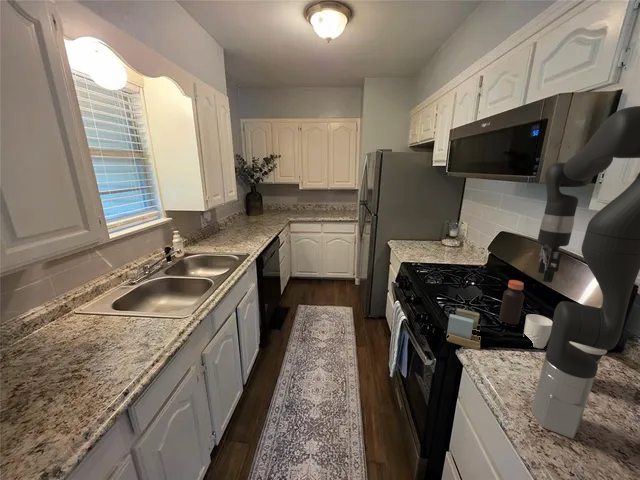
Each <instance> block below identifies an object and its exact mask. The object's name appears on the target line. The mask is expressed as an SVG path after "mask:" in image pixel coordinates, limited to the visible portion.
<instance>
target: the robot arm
mask: <svg viewBox="0 0 640 480" xmlns="http://www.w3.org/2000/svg"><path fill="white" fill-rule="evenodd" d="M615 158H616V159H640V105H639V106H638V105H635V106H629V107H628V106H627V107H624V108H622V109H619V110H617V111H615V112H613V113H612V114H611V115H610V116H609V117H608V118H606V119H605V120H604V122H603V123H602V124H601V125H600V126H599V128H598V129H597V130H596V132H595V133H594V134H593V135H592V136H591V138H590V139H589V140H588V142H586V144H585V146H584V147H583V148H582V149H581V150H580V151H579V152H577V153H576V154H574V155H573V156H572V157H570V158H569V159H568V160H567V161H566V162H555V163H552V164H550V166H549V167H547V169H546V171H545V174H544V181H545V186H546V187H545V188H546V203H545V209H544V213H543V216H542V218H541V221H540V222H541V223H540V227H539V231H538V235H537V242H538V243H539V244H541V247H540V251H539V255H538V258H539V260H538V261H539V264H538V265H539V266H538V269H537V272H538V273H539V274H543V276H542V277H543V278H542V281H543V282H546V283H552V282H553V281H554V275H555V273H556V272H558V271H559V267H560V262H561V258H562V255H563V254H562V252H561V251H560V250H559V249H560V247H567V246H569V245H570V240H571V238H572V237H571V236H572V232H573V228H574V224H575V215H576V211H577V207H578V204H579V198H578V197H577V196H574V195H572V194H565V193H562V192H561V190H560V188H582V187H587V186H588V185H589V184H590V183H592V181H593V178H594V177H595V176H597V175H599V174H601V173H603V172H604V171H605V170H607V169H608V168H609V167H610V166H611V164H612V162H613V160H614V159H615ZM581 254H582V257H583V260H584V261H585V263H586V265H587V267H588V268H589V270H590V272H591V273H592V275H593V277H594V278H595V280H596V282H597V284H598V286H599V289H600V291H601V294H602V295H601V296H602V303H601V306H600V307H597V306H592V305H588V304H587V305H586V304H581V303H577V302H572V301H567V300H566V301H565V300H563V301H560V302H558V304H557V305H556V306H555V309H554V312H553V313H554V314H553V318H552V322H553V323H552V329H551V334H550V337H549V339H548V342H547V346H546V347H547V348H546V352H545V356H544V359H543V363H542V368H541V371H540V375H539V379H538V382H537V386H536V389H535V393H534V398H533V401H532V407H531V413H532V414H533V416H534V418H535V419H536V420H537V421H538V422H539V424H540V426H541V427H542V428H544V429H546V430H549V431H551V432H554V433H557V434H559V435H561V436H564V437H566V438H569V439H572V440H574V439H575V436H576V435H577V434H578V431H579V429H580V425H581V422H582V419H583V415H584V413H585V410H586V406H587V403H588V401H589V396H590V394H591V390H592V387H593V385H594V382H595V379H596V376H597V373H598V368H599V364H597V362H596V361H595V360H594V359H593V358H592V357H591V356H590V355H589V354H587V353H586V352H584V351H583V350H581V349H579V348H577V347H575V346H574V345H572V344H571V343H570V341H571V342H574V343H578V344H582V345H586V346H590V347H593V348H598V349H602V350H607V351H611V350H612V349H614V348H615V347H616V346H617V344H618V343H619V341H620V339H621V335H622V332H623V327H624V324H625V320H626V316H627V311H628V307H629V303H630V298H631V295H632V291H633V288H634V285H635V283H636V280H637V278H638V275H639V272H640V171H639V173H638V174H637V176H636V177H635V178H634V180H633V182H632V183H631V184H630V185H628V187H627V188H625V190H624V191H622V192H621V193H620V194H618V196H616V197H615V198H614V199H612V200H611V201H610V202H608V204H606V205H605V206H604V207H602V208H601V209H600V210H599V211H598V212H597V213H595V214H594V215H593V216H592V218H591V219H590V220H589V221H588V224H587V227H586V230H585V235H584V237H583V240H582V244H581ZM551 265H552V266H551Z"/></svg>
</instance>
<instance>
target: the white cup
mask: <svg viewBox="0 0 640 480" xmlns="http://www.w3.org/2000/svg"><path fill="white" fill-rule="evenodd" d="M552 323H553V320H552V319H550V318H548V317H546V316H544V315H540V314H534V313H533V314H532V313H531V314H530V313H528V314H526V316H525V323H524V329H523V335H524V334H525V335H526V336H527V337H528V338H529V339H530V340H531V341H532V343H533V348H537V349H545V348H546V347H547V345H548V342H549V338H550V334H551V329H552ZM545 346H546V347H545ZM544 347H545V348H544Z"/></svg>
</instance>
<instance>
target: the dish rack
mask: <svg viewBox="0 0 640 480" xmlns="http://www.w3.org/2000/svg"><path fill="white" fill-rule="evenodd" d="M455 315H457V316H461V317H465V318H469V319H473V320H474V321H473V328H476V329H473V328H472V330H476V331H479V332H480V330H481V329H480V330H477V326H480V327H481V324H479V318H480V313H479V312H476V311H472V310H466V309H465V308H464V309H463V308H458V307H456V312H455ZM479 337H480V338H481V336H477V335H473V334H471V339H472V340H469V339H465V338H462V337H458V336H455V335H452V334H449V337H448V338H447V337H446V342H449V343H451V344H452V343H453V344H454V345H455V344H456V345H460V346H462V347H465V348H469V349H472V350H476V351H479V352H481V351H480V349H481V339H480V340H479Z"/></svg>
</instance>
